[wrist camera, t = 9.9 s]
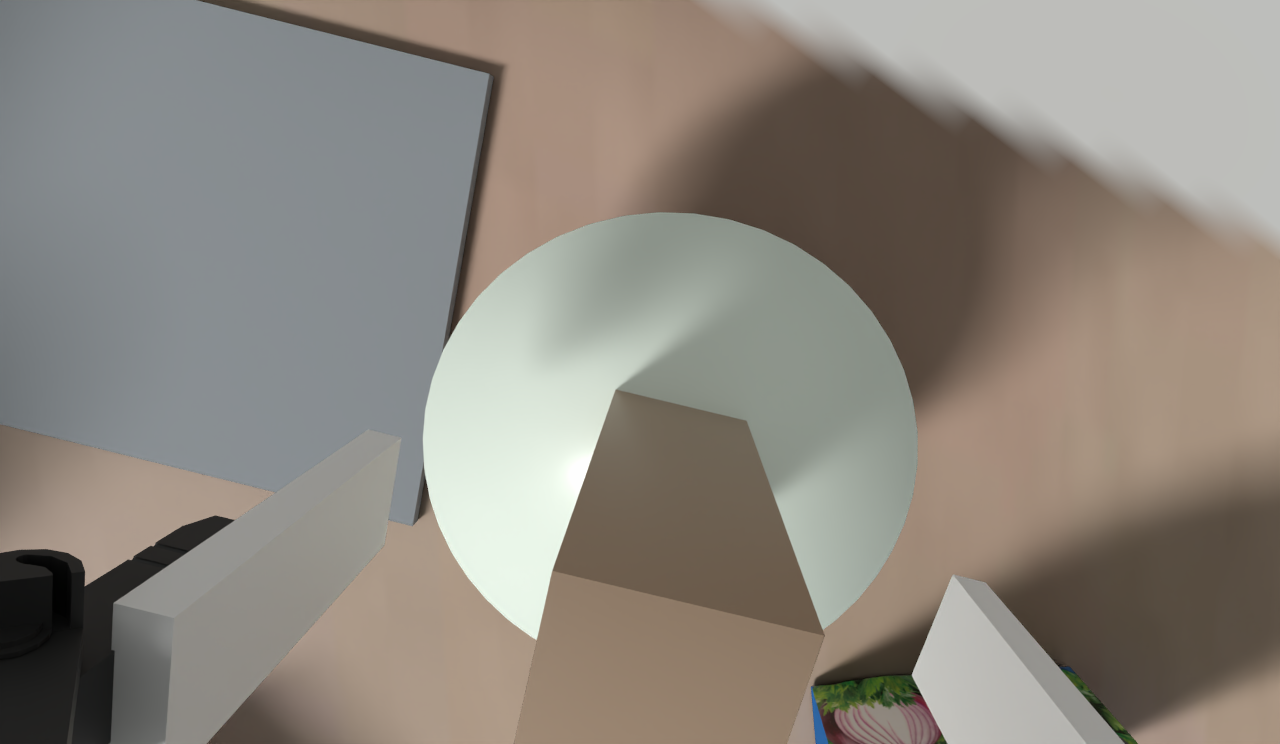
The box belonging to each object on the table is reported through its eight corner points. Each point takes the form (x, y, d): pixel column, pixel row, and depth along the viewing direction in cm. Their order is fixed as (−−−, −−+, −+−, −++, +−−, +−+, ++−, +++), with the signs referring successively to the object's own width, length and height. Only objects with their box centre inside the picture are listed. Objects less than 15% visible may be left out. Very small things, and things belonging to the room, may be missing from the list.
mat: (7, 418, 30) (-6, 422, 29) (5, -46, 25) (-10, -52, 25) (417, 520, 30) (412, 525, 29) (493, 77, 25) (489, 73, 25)
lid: (405, 601, 22) (148, 962, 11) (476, 159, 18) (200, 72, 8) (823, 701, 22) (965, 1155, 11) (976, 279, 18) (1395, 359, 8)
